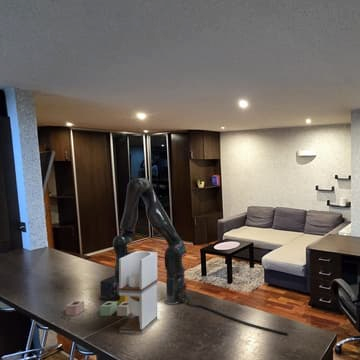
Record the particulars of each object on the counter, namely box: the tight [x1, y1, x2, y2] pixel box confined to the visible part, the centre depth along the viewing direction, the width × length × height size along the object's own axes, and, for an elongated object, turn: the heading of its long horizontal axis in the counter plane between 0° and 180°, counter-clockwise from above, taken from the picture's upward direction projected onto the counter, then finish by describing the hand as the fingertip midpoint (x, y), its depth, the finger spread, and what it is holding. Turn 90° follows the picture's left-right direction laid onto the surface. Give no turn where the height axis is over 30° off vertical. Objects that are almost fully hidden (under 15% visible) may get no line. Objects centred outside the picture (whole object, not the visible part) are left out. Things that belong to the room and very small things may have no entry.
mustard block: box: [115, 296, 129, 305], centre depth 154 cm, size 5×5×5 cm
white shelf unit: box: [118, 250, 158, 335], centre depth 131 cm, size 11×11×35 cm
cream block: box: [116, 301, 132, 317], centre depth 142 cm, size 5×5×5 cm
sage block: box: [99, 300, 118, 317], centre depth 142 cm, size 5×5×5 cm
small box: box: [99, 274, 119, 301], centre depth 160 cm, size 11×6×10 cm, turn 168°
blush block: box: [65, 300, 85, 316], centre depth 141 cm, size 5×5×5 cm
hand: (122, 296), depth 153 cm, fingers open, 8 cm apart
